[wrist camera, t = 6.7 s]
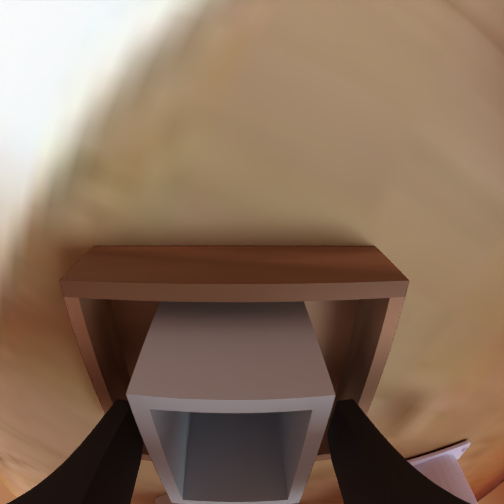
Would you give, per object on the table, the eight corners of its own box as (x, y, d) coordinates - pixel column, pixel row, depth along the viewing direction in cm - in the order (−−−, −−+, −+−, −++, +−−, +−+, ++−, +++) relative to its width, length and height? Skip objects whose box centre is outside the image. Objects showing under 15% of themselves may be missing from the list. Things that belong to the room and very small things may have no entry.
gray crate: (284, 408, 15) (298, 502, 10) (184, 408, 14) (171, 502, 9) (298, 287, 12) (335, 394, 7) (165, 286, 12) (125, 394, 7)
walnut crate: (335, 415, 16) (347, 456, 13) (137, 415, 16) (126, 457, 13) (375, 246, 12) (409, 280, 9) (93, 246, 12) (59, 280, 9)
